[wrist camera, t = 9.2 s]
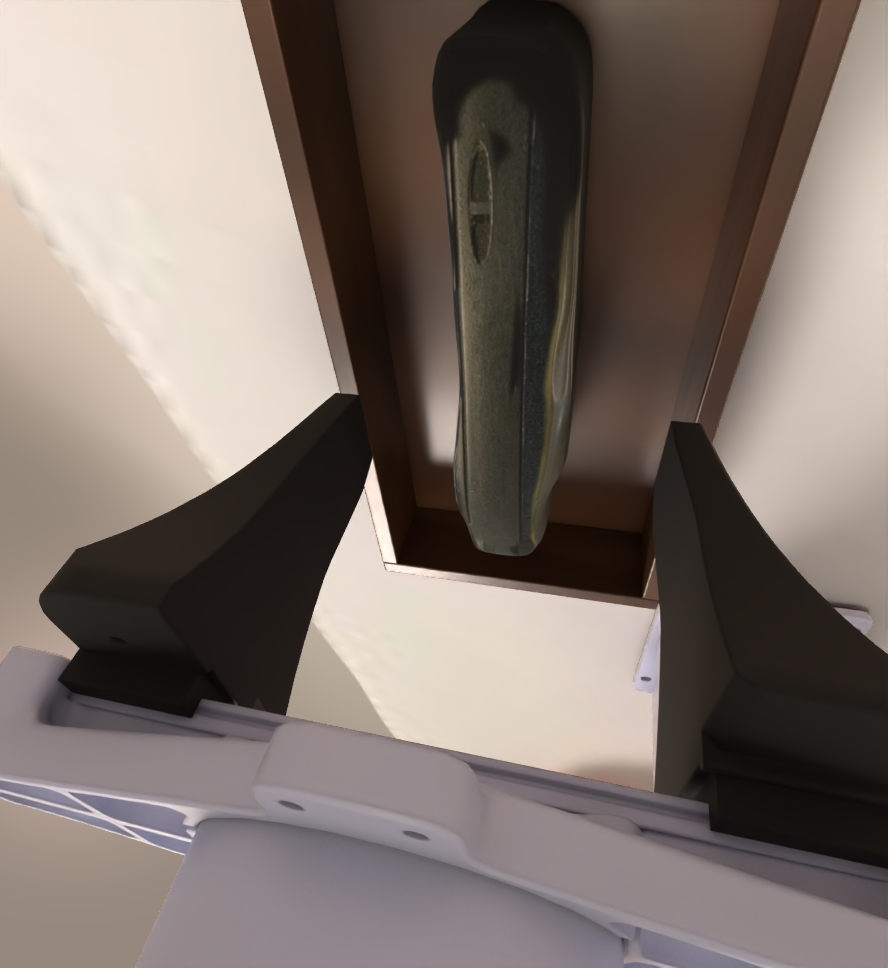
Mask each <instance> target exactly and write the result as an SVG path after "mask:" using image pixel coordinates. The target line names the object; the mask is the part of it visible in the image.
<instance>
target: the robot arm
mask: <svg viewBox="0 0 888 968" xmlns="http://www.w3.org/2000/svg"><path fill="white" fill-rule="evenodd" d="M372 458H373V454H372V450H371V445H370V441H369V436H368V432H367V427H366V423H365V418H364V414H363V409H362V405H361V400H360V396H359V395H356V394H344V393H335V394H334V395H333V396H331V397H330V398H329V399H328V400H327V401H325V402H324V403H323V404H322V405H321V406H319V407H318V408H317V409H316V410H315V411H314V412H313V413H311V414H310V415H309V416H308V417H307V418H306V419H304V420H303V421H302V422H301V423H300V424H299V425H297V426H296V427H295V428H294V429H293V430H291V431H290V432H289V433H288V434H287V435H285V436H284V437H283V438H282V439H281V440H279V441H278V442H277V443H276V444H274V445H273V446H272V447H270V448H269V449H268V450H267V451H265V452H264V453H263V454H261V455H260V456H259V457H257V458H256V459H255V460H253V461H252V462H251V463H249V464H248V465H247V466H245V467H244V468H242V469H241V470H240V471H238V472H237V473H235V474H234V475H232V476H231V477H229V478H228V479H226V480H224V481H223V482H221V483H220V484H218V485H216V486H215V487H213V488H212V489H210V490H208V491H207V492H205V493H203V494H201V495H199V496H198V497H196V498H194V499H192V500H190V501H188V502H186V503H185V504H183V505H181V506H179V507H177V508H175V509H173V510H171V511H170V512H168V513H165V514H163V515H161V516H159V517H157V518H155V519H153V520H150V521H148V522H146V523H144V524H141V525H139V526H137V527H134V528H132V529H130V530H127V531H125V532H122V533H120V534H117V535H114V536H112V537H109V538H106V539H103V540H101V541H98V542H95V543H93V544H90V545H87V546H85V547H81V548H78V549H76V550H75V552H74V553H73V554H72V556H71V557H70V558H69V559H68V560H67V562H66V563H65V564H64V565H63V566H62V568H61V569H60V570H59V571H58V573H57V574H56V575H55V577H54V578H53V579H52V580H51V581H50V583H49V584H48V585H47V586H46V588H45V589H44V590H43V591H42V593H41V594H40V598H39V603H40V606H41V608H42V610H43V612H44V613H45V614H46V616H47V617H48V618H49V619H50V620H51V621H52V622H53V623H54V624H55V625H56V626H57V627H58V628H59V629H60V630H61V631H62V632H63V633H64V634H65V635H66V636H67V637H68V638H70V639H71V640H72V641H73V642H74V643H75V644H76V645H77V646H78V647H79V648H80V649H79V650H78V652H77V653H76V654H75V656H74V657H73V659H72V660H69V659H67V658H65V657H63V656H61V655H58V654H55V653H50V652H45V651H40V650H36V649H31V648H25V647H21V646H17V647H13V648H12V650H11V651H10V652H9V653H8V655H7V656H6V657H5V659H4V660H3V661H2V662H1V664H0V798H1V799H3V800H5V801H8V802H12V803H16V804H20V805H23V806H26V807H30V808H34V809H37V810H41V811H44V812H48V813H51V814H54V815H58V816H61V817H65V818H68V819H71V820H75V821H78V822H81V823H84V824H88V825H91V826H94V827H97V828H100V829H104V830H107V831H110V832H113V833H116V834H119V835H122V836H126V837H129V838H132V839H135V840H138V841H141V842H144V843H147V844H151V845H154V846H157V847H160V848H163V849H166V850H169V851H173V852H175V853H179V854H182V855H185V857H184V859H183V862H182V863H181V866H180V868H179V870H178V872H177V875H176V877H175V879H174V881H173V883H172V886H171V888H170V890H169V892H168V895H167V897H166V899H165V901H164V903H163V906H162V908H161V910H160V912H159V914H158V917H157V919H156V921H155V923H154V926H153V928H152V930H151V932H150V934H149V937H148V939H147V941H146V943H145V945H144V948H143V950H142V952H141V954H140V957H139V959H138V961H137V963H136V966H135V968H888V654H887V653H886V652H884V651H883V650H882V649H881V648H879V647H878V646H877V645H875V644H874V643H873V642H872V641H871V640H869V639H868V638H867V637H866V636H865V634H866V633H867V632H868V631H869V629H870V628H871V627H872V626H873V621H872V617H871V615H870V614H869V613H867V612H864V611H859V610H851V609H844V608H837V607H833V606H832V605H831V604H830V603H829V602H827V601H826V600H825V599H824V598H823V597H822V596H821V595H820V594H819V593H818V592H817V591H816V590H815V589H814V588H813V587H812V586H811V585H810V584H809V583H808V582H807V581H806V579H805V578H804V577H803V576H802V575H801V574H800V573H799V572H798V571H797V570H796V568H795V567H794V566H793V565H792V564H791V563H790V562H789V560H788V559H787V558H786V557H785V556H784V554H783V553H782V552H781V551H780V550H779V548H778V547H777V546H776V545H775V543H774V542H773V541H772V540H771V538H770V537H769V536H768V534H767V533H766V532H765V530H764V529H763V527H762V526H761V525H760V523H759V522H758V520H757V519H756V518H755V516H754V515H753V513H752V512H751V510H750V509H749V507H748V506H747V504H746V503H745V501H744V500H743V498H742V496H741V495H740V493H739V491H738V490H737V488H736V487H735V485H734V483H733V482H732V480H731V478H730V477H729V475H728V473H727V471H726V470H725V468H724V466H723V464H722V462H721V460H720V459H719V457H718V455H717V453H716V451H715V449H714V447H713V445H712V443H711V441H710V439H709V436H708V434H707V432H706V430H705V428H704V427H703V425H702V424H701V423H692V422H680V421H671V422H670V426H669V430H668V434H667V438H666V442H665V446H664V449H663V453H662V457H661V461H660V465H659V469H658V473H657V477H656V480H655V484H654V499H653V538H654V550H655V562H656V573H657V584H658V595H659V604H658V607H657V610H656V613H655V616H654V619H653V622H652V625H651V628H650V631H649V634H648V637H647V640H646V643H645V646H644V649H643V652H642V655H641V658H640V660H639V663H638V666H637V669H636V672H635V675H634V678H633V687H634V688H635V689H636V690H638V691H643V692H649V693H652V696H653V785H654V792H650V791H645V790H640V789H636V788H631V787H626V786H621V785H616V784H612V783H607V782H602V781H597V780H592V779H587V778H583V777H578V776H573V775H568V774H563V773H559V772H554V771H549V770H544V769H539V768H534V767H530V766H525V765H520V764H515V763H510V762H506V761H501V760H496V759H491V758H486V757H481V756H477V755H472V754H467V753H462V752H457V751H453V750H448V749H443V748H438V747H433V746H428V745H424V744H419V743H414V742H409V741H404V740H400V739H395V738H390V737H385V736H380V735H375V734H371V733H366V732H361V731H356V730H351V729H347V728H342V727H337V726H332V725H327V724H322V723H317V722H313V721H308V720H303V719H298V718H293V717H289V716H286V712H287V707H288V703H289V699H290V695H291V690H292V686H293V682H294V678H295V674H296V671H297V666H298V663H299V660H300V655H301V652H302V648H303V645H304V641H305V638H306V634H307V631H308V627H309V624H310V621H311V618H312V614H313V611H314V608H315V605H316V602H317V599H318V596H319V592H320V589H321V586H322V583H323V580H324V577H325V575H326V572H327V570H328V567H329V565H330V562H331V560H332V558H333V556H334V554H335V551H336V549H337V547H338V545H339V543H340V540H341V538H342V536H343V534H344V532H345V530H346V527H347V525H348V523H349V521H350V519H351V516H352V514H353V512H354V510H355V508H356V505H357V503H358V501H359V499H360V496H361V494H362V492H363V489H364V485H365V482H366V479H367V476H368V472H369V469H370V465H371V461H372Z"/></svg>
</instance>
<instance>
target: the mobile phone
mask: <svg viewBox="0 0 888 968" xmlns="http://www.w3.org/2000/svg"><path fill="white" fill-rule="evenodd" d="M592 94H593V57H592V48H591V45H590V42H589V38H588V36H587V34H586V32H585V30H584V28H583V27H582V25H581V24H580V23H579V22H578V20H577V19H576V18H575V17H574V16H573V15H572V14H571V13H570V12H569V11H567V10H566V9H564V8H563V7H562V6H560V5H558V4H555V3H552V2H547V1H539V0H490V1H487V2H486V3H485V4H484V5H482V6H481V7H480V8H479V9H478V10H477V11H476V13H475V14H474V15H473V16H472V18H471V19H470V20H469V21H467V22H466V23H465V24H464V25H463V26H462V27H460V28H459V29H458V30H457V31H456V32H454V33H453V34H452V35H451V36H450V37H448V38H447V39H446V40H445V41H444V43H443V45H442V47H441V48H440V50H439V52H438V55H437V59H436V63H435V67H434V76H433V82H432V100H433V111H434V119H435V125H436V130H437V135H438V141H439V147H440V154H441V162H442V170H443V180H444V190H445V200H446V212H447V223H448V234H449V245H450V256H451V270H452V291H453V305H454V317H455V328H456V340H457V351H458V364H459V383H460V389H459V405H458V418H457V430H456V441H455V450H454V470H453V471H454V487H455V495H456V501H457V506H458V508H459V511H460V513H461V515H462V516H463V518H464V519H465V521H466V524H467V526H468V529H469V532H470V535H471V538H472V541H473V543H474V545H475V547H476V548H477V549H478V550H481V551H484V552H488V553H493V554H500V555H509V556H524V555H528V554H530V553H532V551H533V550H534V549H535V548H536V546H537V545H538V544H539V542H540V541H541V539H542V537H543V535H544V532H545V529H546V525H547V520H548V516H549V510H550V504H551V497H552V490H553V486H554V484H555V483H556V481H557V479H558V477H559V475H560V473H561V471H562V469H563V466H564V464H565V462H566V458H567V454H568V447H569V439H570V431H571V423H572V415H573V404H574V394H575V381H576V367H577V353H578V339H579V324H580V309H581V295H582V279H583V260H584V240H585V220H586V201H587V183H588V166H589V148H590V130H591V113H592Z"/></svg>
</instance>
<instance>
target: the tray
mask: <svg viewBox="0 0 888 968" xmlns="http://www.w3.org/2000/svg"><path fill="white" fill-rule="evenodd" d="M487 1H490V0H241V3H242V7H243V11H244V15H245V19H246V23H247V27H248V31H249V35H250V39H251V43H252V47H253V51H254V55H255V59H256V62H257V66H258V70H259V74H260V78H261V82H262V86H263V90H264V94H265V98H266V102H267V106H268V110H269V114H270V118H271V122H272V126H273V129H274V133H275V137H276V141H277V145H278V149H279V153H280V157H281V161H282V165H283V169H284V173H285V177H286V181H287V185H288V189H289V193H290V197H291V200H292V204H293V208H294V212H295V216H296V220H297V224H298V228H299V232H300V236H301V240H302V244H303V248H304V252H305V256H306V260H307V264H308V267H309V271H310V275H311V279H312V283H313V287H314V291H315V295H316V299H317V303H318V307H319V311H320V315H321V319H322V323H323V327H324V331H325V334H326V338H327V342H328V346H329V350H330V354H331V358H332V362H333V366H334V370H335V374H336V378H337V382H338V386H339V390H340V393H344V394H356V395H359V396H360V400H361V405H362V409H363V414H364V418H365V423H366V427H367V432H368V436H369V441H370V445H371V450H372V454H373V458H372V461H371V465H370V469H369V472H368V476H367V479H366V482H365V485H364V488H365V492H366V496H367V500H368V504H369V508H370V512H371V516H372V520H373V524H374V528H375V532H376V536H377V539H378V543H379V547H380V551H381V555H382V559H383V562H384V566H385V570H387V571H393V572H400V573H406V574H413V575H420V576H427V577H434V578H441V579H448V580H455V581H462V582H469V583H476V584H483V585H490V586H497V587H503V588H510V589H517V590H524V591H531V592H538V593H545V594H552V595H559V596H566V597H573V598H580V599H587V600H593V601H600V602H607V603H614V604H621V605H628V606H635V607H642V608H649V609H656V608H657V606H658V603H659V595H658V584H657V573H656V562H655V550H654V538H653V499H654V484H655V480H656V477H657V473H658V469H659V465H660V461H661V457H662V453H663V449H664V446H665V442H666V438H667V434H668V430H669V426H670V422H671V421H680V422H692V423H701V424H702V425H703V427H704V428H705V430H706V432H707V434H708V436H709V439H710V441H711V443H712V442H713V439H714V436H715V434H716V431H717V428H718V425H719V422H720V419H721V416H722V413H723V410H724V407H725V404H726V401H727V398H728V395H729V392H730V389H731V386H732V383H733V380H734V377H735V374H736V371H737V368H738V365H739V362H740V359H741V356H742V353H743V350H744V347H745V344H746V341H747V338H748V336H749V333H750V330H751V327H752V324H753V321H754V318H755V315H756V312H757V309H758V306H759V303H760V300H761V297H762V294H763V291H764V288H765V285H766V282H767V279H768V276H769V273H770V270H771V267H772V264H773V261H774V258H775V255H776V252H777V249H778V246H779V243H780V240H781V238H782V235H783V232H784V229H785V226H786V223H787V220H788V217H789V214H790V211H791V208H792V205H793V202H794V199H795V196H796V193H797V190H798V187H799V184H800V181H801V178H802V175H803V172H804V169H805V166H806V163H807V160H808V157H809V154H810V151H811V148H812V145H813V142H814V140H815V137H816V134H817V131H818V128H819V125H820V122H821V119H822V116H823V113H824V110H825V107H826V104H827V101H828V98H829V95H830V92H831V89H832V86H833V83H834V80H835V77H836V74H837V71H838V68H839V65H840V62H841V59H842V56H843V53H844V50H845V47H846V44H847V42H848V39H849V36H850V33H851V30H852V27H853V24H854V21H855V18H856V15H857V12H858V9H859V6H860V3H861V0H539V1H547V2H552V3H555V4H558V5H560V6H562V7H563V8H564V9H566V10H567V11H569V12H570V13H571V14H572V15H573V16H574V17H575V18H576V19H577V20H578V22H579V23H580V24H581V25H582V27H583V28H584V30H585V32H586V34H587V36H588V38H589V42H590V45H591V48H592V57H593V94H592V113H591V130H590V148H589V166H588V183H587V201H586V220H585V240H584V260H583V279H582V295H581V309H580V324H579V339H578V353H577V367H576V381H575V394H574V404H573V415H572V423H571V431H570V439H569V447H568V454H567V458H566V462H565V464H564V466H563V469H562V471H561V473H560V475H559V477H558V479H557V481H556V483H555V484H554V486H553V490H552V497H551V504H550V510H549V516H548V520H547V525H546V529H545V532H544V535H543V537H542V539H541V541H540V542H539V544H538V545H537V546H536V548H535V549H534V550H533V551H532V553H530V554H528V555H524V556H509V555H500V554H493V553H488V552H484V551H481V550H478V549H477V548H476V547H475V545H474V543H473V541H472V538H471V535H470V532H469V529H468V526H467V524H466V521H465V519H464V518H463V516H462V515H461V513H460V511H459V508H458V506H457V501H456V495H455V487H454V471H453V470H454V450H455V441H456V430H457V418H458V405H459V389H460V383H459V364H458V351H457V340H456V328H455V317H454V305H453V291H452V270H451V256H450V245H449V234H448V223H447V212H446V200H445V190H444V180H443V170H442V162H441V154H440V147H439V141H438V135H437V130H436V125H435V119H434V111H433V100H432V82H433V76H434V67H435V63H436V59H437V55H438V52H439V50H440V48H441V47H442V45H443V43H444V41H445V40H446V39H447V38H448V37H450V36H451V35H452V34H453V33H454V32H456V31H457V30H458V29H459V28H460V27H462V26H463V25H464V24H465V23H466V22H467V21H469V20H470V19H471V18H472V16H473V15H474V14H475V13H476V11H477V10H478V9H479V8H480V7H481V6H482V5H484V4H485V3H486V2H487Z"/></svg>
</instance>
